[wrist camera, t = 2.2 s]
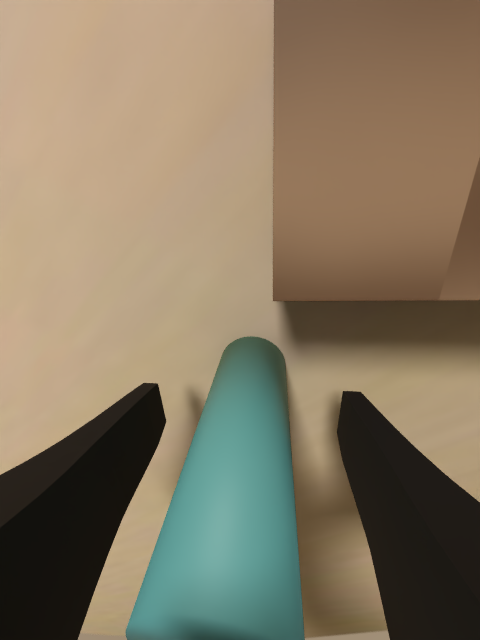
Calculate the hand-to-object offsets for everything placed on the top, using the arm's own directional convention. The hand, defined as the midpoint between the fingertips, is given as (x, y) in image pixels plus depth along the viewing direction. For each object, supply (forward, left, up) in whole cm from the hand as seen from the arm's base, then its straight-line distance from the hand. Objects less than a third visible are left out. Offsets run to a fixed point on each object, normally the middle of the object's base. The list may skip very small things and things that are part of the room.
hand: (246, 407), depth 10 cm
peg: (0, 0, -3) cm, 3 cm away
